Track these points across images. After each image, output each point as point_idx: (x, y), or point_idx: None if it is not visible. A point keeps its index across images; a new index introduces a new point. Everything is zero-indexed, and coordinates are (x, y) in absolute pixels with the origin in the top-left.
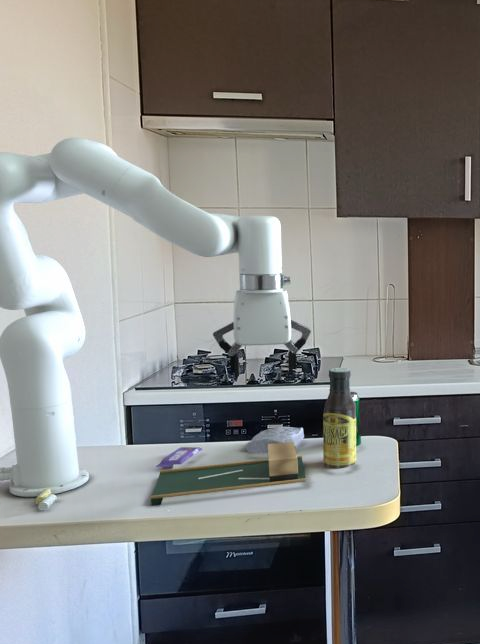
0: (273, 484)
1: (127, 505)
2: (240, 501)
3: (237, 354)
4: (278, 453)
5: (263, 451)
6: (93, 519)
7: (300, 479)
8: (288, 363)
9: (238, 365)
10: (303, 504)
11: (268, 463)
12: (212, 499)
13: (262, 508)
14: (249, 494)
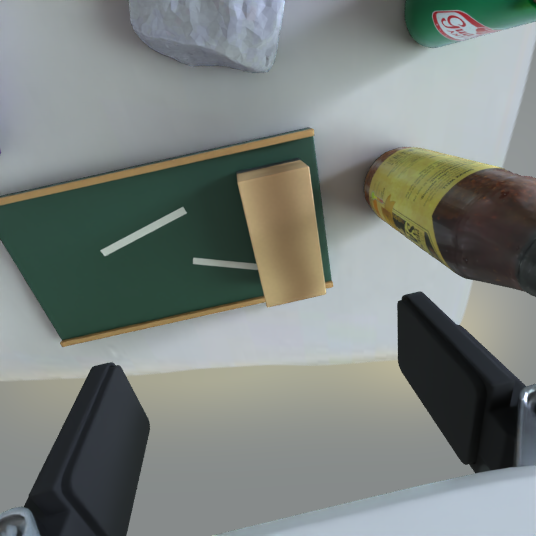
0: None
1: (22, 332)
2: (222, 328)
3: (72, 502)
4: (280, 264)
5: (196, 57)
6: (5, 377)
7: None
8: (425, 352)
9: (133, 477)
10: (327, 344)
11: (234, 167)
12: None
13: (265, 354)
14: None
